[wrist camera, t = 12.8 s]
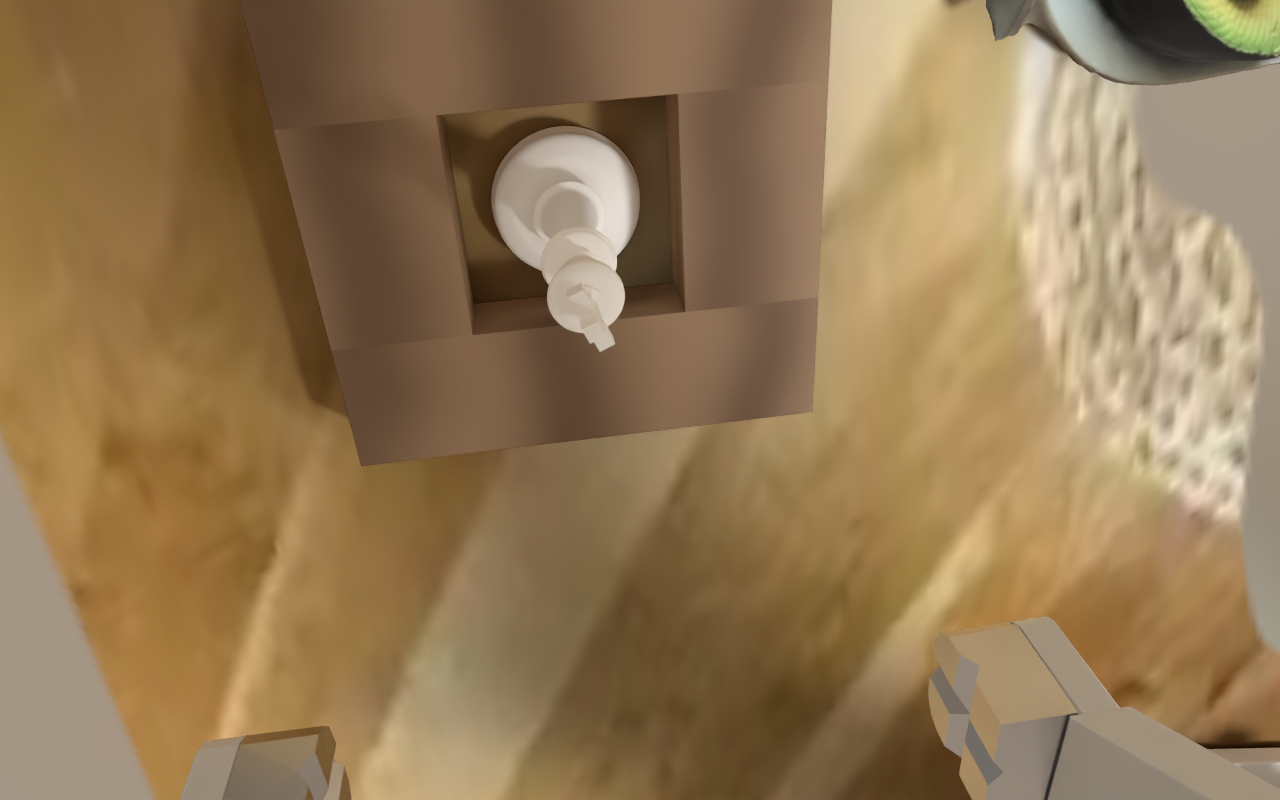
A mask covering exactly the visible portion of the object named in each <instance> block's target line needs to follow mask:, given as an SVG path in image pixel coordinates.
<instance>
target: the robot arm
mask: <svg viewBox="0 0 1280 800" xmlns="http://www.w3.org/2000/svg"><path fill="white" fill-rule="evenodd" d="M933 654H934V656H935V658H936V659H937V661H938V663H939V665H940V666H939V667H938V668H937V670H936V671H935V672H934V673H933V674H932V675H931V676H930V680H929V690H928V697H929V704H930V710H931V715H932V718H933V721H934V724H935V727H936V730H937V732H938V734H939V736H940V738H941V740H942V742H943V744H944V746H945V747H946V748H948V749H949V750H951V751H952V752H954V753H955V754H957V755H958V756H960V757H961V758H962V759H961V765H960V771H959V776H960V778H961V780H962V782H963V784H964V785H965V787H966V789H967V791H968V793H969V795H970V797H971V799H972V800H1280V748H1241V749H1206V748H1204V747H1203V746H1201V745H1199V744H1197V743H1195V742H1193V741H1192V740H1190V739H1188V738H1186V737H1184V736H1183V735H1181V734H1179V733H1177V732H1175V731H1174V730H1172V729H1170V728H1168V727H1166V726H1165V725H1163V724H1161V723H1159V722H1157V721H1156V720H1154V719H1152V718H1150V717H1148V716H1147V715H1145V714H1143V713H1141V712H1139V711H1138V710H1136V709H1134V708H1132V707H1123V708H1120V707H1119V706H1118V705H1117V703H1116V702H1115V701H1114V700H1113V698H1112V697H1111V696H1110V694H1109V693H1108V692H1107V690H1106V689H1105V688H1104V686H1103V685H1102V684H1101V682H1100V681H1099V680H1098V678H1097V677H1096V676H1095V674H1094V673H1093V672H1092V670H1091V669H1090V668H1089V666H1088V665H1087V664H1086V662H1085V661H1084V660H1083V658H1082V657H1081V656H1080V654H1079V653H1078V652H1077V651H1076V649H1075V648H1074V647H1073V645H1072V644H1071V643H1070V641H1069V640H1068V639H1067V637H1066V636H1065V635H1064V633H1063V632H1062V631H1061V629H1060V628H1059V627H1058V625H1057V624H1056V623H1055V621H1053V620H1052V619H1050V618H1048V617H1047V616H1045V617H1039V618H1032V619H1026V620H1019V621H1013V622H1010V623H1008V622H1004V623H998V624H991V625H985V626H979V627H973V628H967V629H961V630H954V631H948V632H942V633H940V634H939V635H938V637H937V638H936V640H935V645H934V651H933ZM335 747H336V742H335V739H334V737H333V735H332V732H331V730H330V727H328V726H319V727H311V728H303V729H295V730H287V731H279V732H271V733H263V734H254V735H246V736H242V737H235V738H227V739H219V740H212V741H206V742H205V743H204V744H203V746H202V747H201V748H200V750H199V751H198V752H197V753H196V756H195V759H194V762H193V765H192V768H191V771H190V774H189V777H188V779H187V782H186V785H185V788H184V791H183V794H182V797H181V800H351V791H350V785H349V779H348V776H347V773H346V770H345V767H344V766H343V765H341V764H339V763H338V762H336V761H334V760H333V759H334V753H335Z"/></svg>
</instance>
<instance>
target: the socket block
mask: <svg viewBox="0 0 1280 800" xmlns="http://www.w3.org/2000/svg"><path fill="white" fill-rule="evenodd" d="M240 4H241V8H242V11H243V15H244V19H245V23H246V27H247V31H248V34H249V38H250V42H251V46H252V50H253V53H254V57H255V61H256V65H257V69H258V73H259V76H260V80H261V84H262V88H263V92H264V96H265V99H266V103H267V107H268V111H269V115H270V119H271V122H272V126H273V130H274V134H275V138H276V141H277V145H278V149H279V153H280V157H281V161H282V164H283V168H284V172H285V176H286V180H287V184H288V187H289V191H290V195H291V199H292V203H293V207H294V210H295V214H296V218H297V222H298V226H299V229H300V233H301V237H302V241H303V245H304V249H305V252H306V256H307V260H308V264H309V268H310V272H311V275H312V279H313V283H314V287H315V291H316V295H317V298H318V302H319V306H320V310H321V314H322V317H323V321H324V325H325V329H326V333H327V337H328V340H329V344H330V348H331V352H332V356H333V360H334V363H335V367H336V371H337V375H338V379H339V382H340V386H341V390H342V394H343V398H344V402H345V405H346V409H347V413H348V417H349V421H350V425H351V428H352V432H353V436H354V440H355V444H356V448H357V451H358V455H359V459H360V463H361V466H367V465H375V464H384V463H392V462H400V461H409V460H417V459H425V458H434V457H442V456H450V455H458V454H467V453H475V452H483V451H492V450H500V449H508V448H517V447H525V446H533V445H542V444H550V443H558V442H567V441H575V440H583V439H592V438H600V437H608V436H616V435H625V434H633V433H641V432H650V431H658V430H666V429H675V428H683V427H691V426H700V425H708V424H716V423H725V422H733V421H741V420H749V419H758V418H766V417H774V416H783V415H791V414H799V413H808V412H813V392H814V371H815V350H816V329H817V308H818V287H819V266H820V245H821V224H822V203H823V182H824V161H825V140H826V119H827V98H828V77H829V56H830V35H831V13H832V0H240ZM660 95H665V97H666V121H667V145H668V169H669V193H670V217H671V241H672V265H673V283H664V284H654V285H645V286H636V287H626V288H624V290H625V301H624V306H623V309H622V311H621V313H620V315H619V316H618V317H617V319H616V320H615V321H614V322H613V323H612V324H611V325H609V326H608V328H609V330H610V332H611V333H612V335H613V337H614V341H615V345H613V346H611V347H609V348H607V349H605V350H603V351H601V352H599V350H598V348H597V347H596V345H595V343H594V342H593V343H591V344H590V343H589V341H588V340H587V338H586V336H585V335H584V333H578V332H573V331H570V330H568V329H566V328H564V327H563V326H561V325H560V324H559V323H558V322H557V321H556V320H555V319H554V318H553V316H552V314H551V312H550V310H549V307H548V303H547V296H542V297H532V298H523V299H514V300H504V301H495V302H486V303H476V304H475V303H474V297H473V291H472V285H471V279H470V273H469V267H468V261H467V255H466V249H465V243H464V237H463V231H462V225H461V219H460V213H459V206H458V200H457V194H456V188H455V182H454V176H453V170H452V164H451V158H450V152H449V146H448V140H447V134H446V128H445V122H444V116H443V115H446V114H457V113H469V112H480V111H491V110H502V109H514V108H525V107H536V106H547V105H559V104H570V103H581V102H592V101H604V100H615V99H626V98H637V97H649V96H660Z"/></svg>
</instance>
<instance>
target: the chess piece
mask: <svg viewBox="0 0 1280 800" xmlns="http://www.w3.org/2000/svg"><path fill="white" fill-rule="evenodd" d="M491 205H492V212H493V217H494V220H495V223H496V226H497V228H498V230H499V232H500V234H501V236H502V238H503V240H504V242H505V243H506V244H507V246H508V247H509V248H510V250H511V251H512V252H513V253H514V254H515V255H516V256H517V257H518V258H520V259H521V260H522V261H524V262H525V263H527V264H528V265H530V266H532V267H534V268H536V269H538V270H541V271H542V274H543V277H544V279H545V280H546V282H547V283H548V285H549V287H548V292H547V303H548V307H549V310H550V312H551V314H552V316H553V318H554V319H555V320H556V321H557V322H558V323H559V324H560V325H561V326H563V327H564V328H566V329H568V330H570V331H573V332H578V333H584V335H585V336H586V338H587V340H588V341H589V343H590V344H591V343H593V342H594V343H595V345H596V347H597V348H598V350H599V352H601V351H603V350H605V349H607V348H609V347H611V346H613V345H615V341H614V337H613V335H612V333H611V332H610V330H609V328H608V326H609V325H611V324H612V323H613V322H614V321H615V320H616V319H617V317H618V316H619V315H620V313H621V311H622V309H623V306H624V301H625V290H624V286H623V283H622V281H621V279H620V277H619V276H618V275H617V273H616V267H617V255H618V254H619V253H620V252H621V251H622V250H623V249H624V248H625V246H626V245H627V244H628V242H629V240H630V239H631V237H632V235H633V233H634V231H635V228H636V225H637V222H638V218H639V212H640V189H639V184H638V179H637V176H636V173H635V171H634V169H633V166H632V165H631V163H630V161H629V160H628V158H627V157H626V155H625V154H624V153H623V152H622V150H621V149H620V148H619V147H618V146H617V145H615V144H614V143H613V142H612V141H610V140H609V139H608V138H606V137H604V136H603V135H601V134H599V133H597V132H594V131H592V130H589V129H585V128H581V127H575V126H557V127H551V128H546V129H543V130H540V131H537V132H535V133H533V134H531V135H529V136H527V137H526V138H524V139H522V140H521V141H520V142H518V143H517V144H516V145H515V146H514V147H513V148H512V149H511V150H510V151H509V152H508V153H507V155H506V156H505V157H504V159H503V160H502V162H501V164H500V165H499V167H498V169H497V172H496V174H495V177H494V181H493V185H492V192H491Z"/></svg>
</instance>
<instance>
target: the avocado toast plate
mask: <svg viewBox="0 0 1280 800" xmlns="http://www.w3.org/2000/svg"><path fill="white" fill-rule="evenodd" d="M986 7H987V10H988V12H989V15H990V18H991V21H992V25H993V32H994V36H995V41H997V40H1001V39H1004V38H1006V37H1008V36H1013V35H1015V34H1017V33H1018V31H1019V29H1020V28H1021V26H1022V25H1023V24H1026V23H1031V24H1033V25H1035V26H1036V27H1038V28H1040V29H1041V30H1042V31H1044V32H1045V33H1046V34H1047V35H1048V36H1049V37H1050V38H1051V39H1052V40H1053V41H1054V42H1055V43H1056V44H1057V45H1058V46H1059V47H1060V48H1061V49H1062V50H1063V51H1065V52H1066V53H1067V54H1068V55H1069V56H1070V57H1071V58H1072V60H1073V61H1075V62H1076V63H1077V64H1079V65H1081V66H1083V67H1084V68H1085V69H1087V70H1088V71H1089V72H1095V73H1097V74H1099V75H1100V76H1102V77H1103V78H1105V79H1108V80H1110V81H1113V82H1117V83H1123V84H1132V85H1168V84H1177V83H1184V82H1191V81H1196V80H1202V79H1207V78H1213V77H1217V76H1221V75H1226V74H1232V73H1236V72H1240V71H1246V70H1253V69H1258V68H1261V67H1264V66H1268V65H1273V64H1280V0H986Z"/></svg>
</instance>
